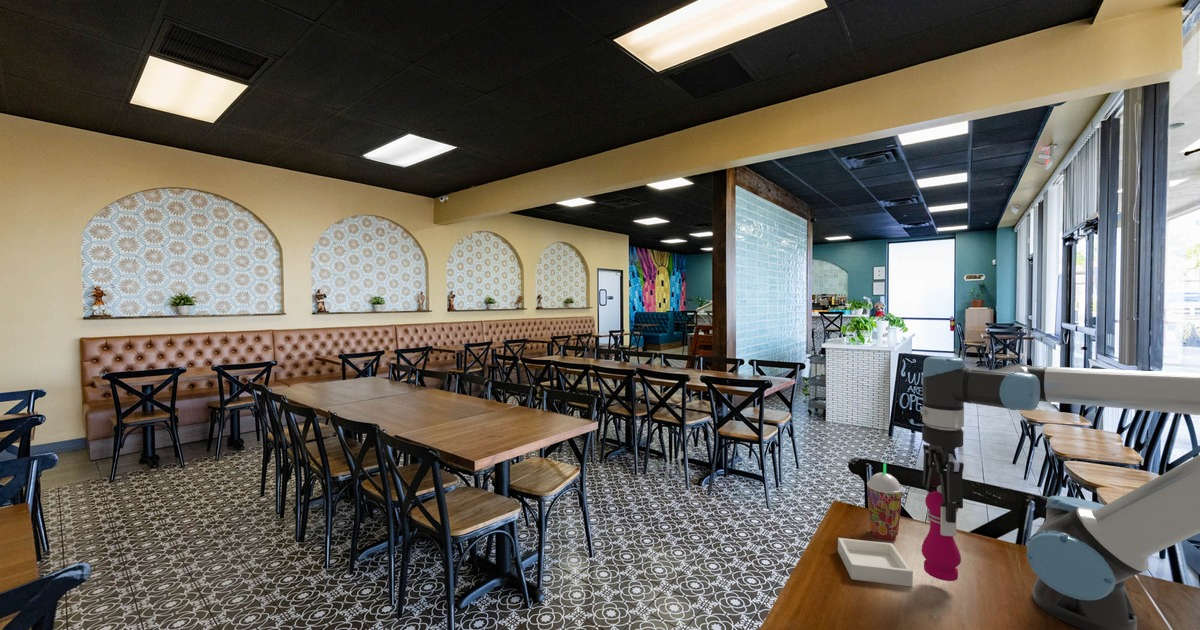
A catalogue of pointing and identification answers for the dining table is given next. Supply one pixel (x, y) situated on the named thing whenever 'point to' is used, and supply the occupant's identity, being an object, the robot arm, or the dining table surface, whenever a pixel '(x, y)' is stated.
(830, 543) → the dining table surface
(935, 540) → the pepper mill
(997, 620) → the dining table surface
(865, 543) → the tray
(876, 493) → the smoothie
